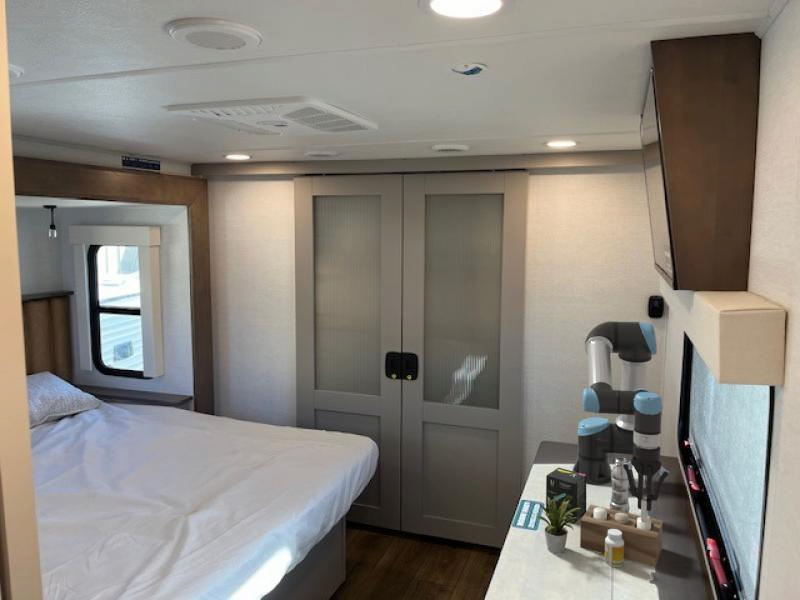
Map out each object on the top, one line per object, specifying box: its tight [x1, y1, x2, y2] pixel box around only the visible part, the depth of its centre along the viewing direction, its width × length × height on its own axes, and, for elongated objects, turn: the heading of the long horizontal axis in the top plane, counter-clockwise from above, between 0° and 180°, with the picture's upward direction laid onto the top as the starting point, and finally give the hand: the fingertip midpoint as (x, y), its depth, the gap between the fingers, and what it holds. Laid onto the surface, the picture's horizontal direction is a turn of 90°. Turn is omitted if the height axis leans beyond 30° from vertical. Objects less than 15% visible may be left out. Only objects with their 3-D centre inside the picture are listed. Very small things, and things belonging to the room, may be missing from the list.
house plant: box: [535, 497, 580, 555], centre depth 187 cm, size 14×14×16 cm
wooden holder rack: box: [579, 504, 664, 568], centre depth 189 cm, size 12×22×10 cm, turn 59°
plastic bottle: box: [609, 456, 631, 513], centre depth 209 cm, size 6×7×20 cm
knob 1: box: [593, 506, 607, 521], centre depth 192 cm, size 4×4×10 cm
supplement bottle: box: [604, 529, 625, 568], centre depth 181 cm, size 5×5×10 cm
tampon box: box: [545, 467, 587, 525], centre depth 210 cm, size 11×9×15 cm
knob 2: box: [637, 517, 651, 531], centre depth 185 cm, size 4×4×10 cm
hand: (644, 519), depth 185 cm, fingers closed
